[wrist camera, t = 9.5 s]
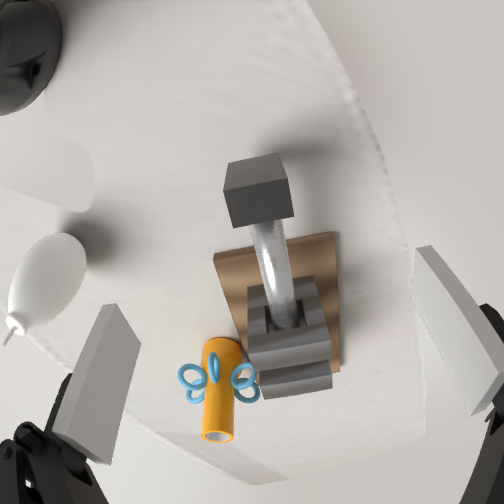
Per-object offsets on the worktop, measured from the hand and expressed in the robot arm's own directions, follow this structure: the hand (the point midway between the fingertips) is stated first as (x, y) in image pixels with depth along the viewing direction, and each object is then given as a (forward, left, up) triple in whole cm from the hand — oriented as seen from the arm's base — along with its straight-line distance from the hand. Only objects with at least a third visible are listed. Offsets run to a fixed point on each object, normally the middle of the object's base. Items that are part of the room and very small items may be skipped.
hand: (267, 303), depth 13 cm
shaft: (+10, 0, -18) cm, 20 cm away
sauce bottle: (+5, -25, -22) cm, 34 cm away
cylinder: (+27, -11, -22) cm, 36 cm away
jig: (+23, 0, -22) cm, 32 cm away
